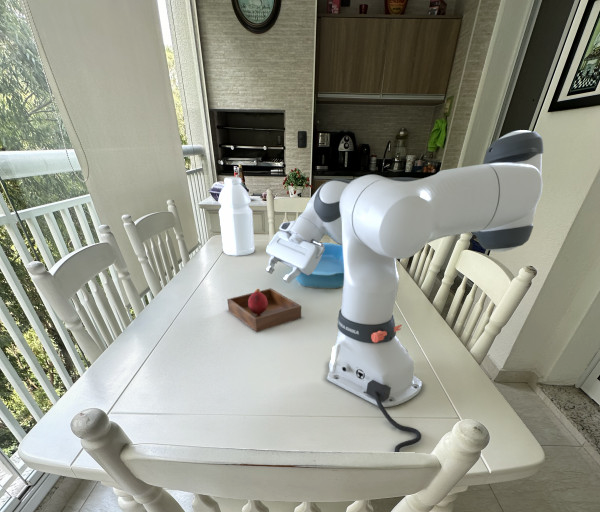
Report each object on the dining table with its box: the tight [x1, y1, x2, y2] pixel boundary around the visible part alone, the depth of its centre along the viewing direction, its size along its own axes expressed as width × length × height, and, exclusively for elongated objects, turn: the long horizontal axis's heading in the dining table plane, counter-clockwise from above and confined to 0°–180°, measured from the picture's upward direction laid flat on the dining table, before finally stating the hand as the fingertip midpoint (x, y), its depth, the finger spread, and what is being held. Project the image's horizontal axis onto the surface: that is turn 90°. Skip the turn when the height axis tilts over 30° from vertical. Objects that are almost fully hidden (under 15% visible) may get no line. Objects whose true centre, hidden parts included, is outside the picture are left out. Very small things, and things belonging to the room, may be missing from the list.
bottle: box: [217, 176, 256, 257], centre depth 148 cm, size 14×14×28 cm
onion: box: [248, 288, 268, 315], centre depth 104 cm, size 6×6×8 cm
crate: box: [226, 287, 302, 333], centre depth 106 cm, size 17×16×4 cm
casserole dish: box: [295, 242, 344, 289], centre depth 133 cm, size 37×22×7 cm, turn 175°
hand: (276, 276), depth 103 cm, fingers open, 8 cm apart
